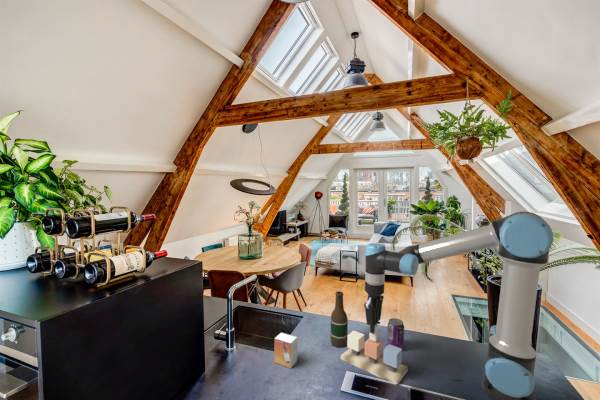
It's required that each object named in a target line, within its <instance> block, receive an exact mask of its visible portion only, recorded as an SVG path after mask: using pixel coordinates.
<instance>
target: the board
mask: <svg viewBox="0 0 600 400" xmlns="http://www.w3.org/2000/svg"><path fill="white" fill-rule="evenodd" d="M364 352H365V347H363V348H362V349H361V350H360V351H359V352H357V351H355V350H353V349H350V348H348V349H347V350H346V351H345V352H343V353H342V354H341V355H340V360H341V361H344V362H346V363H348V364H350V365H352V366H355V367H356V368H358V369H361V370H363V371H365V372H367V373H369V374H371V375H373V376H376V377H377V378H379V379H382V378H383V379H382V380H384V379H386V380H388V381H390V382H392V383H395V384H399V383H400V382H401V381H402V379H403V378H404V377H405V375H406V374H407V372H408V369H409V368H408V367H409V366H407V365H404V364H402V363H400V365H399V366H398V367H397V368H394V367H392V366H390V365H387V364H385V363H383V356H382V355H381V356H380V357H379V358H378V359H377V360H376V359H373V358H371V357H369V356H367V355H364ZM386 380H385V381H386ZM388 381H387V382H388ZM390 382H389V383H390ZM392 383H391V384H392Z"/></svg>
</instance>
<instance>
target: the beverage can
mask: <svg viewBox="0 0 600 400" xmlns="http://www.w3.org/2000/svg"><path fill="white" fill-rule="evenodd" d="M386 342H387V343H386V346H388V345H389V344H390V345H393V346H396V347H398V348H401V349H402V350H404V348H405V324H404V321H403V320H401V319H399V318H396V317H395V318H394V317H393V318H392V317H391V318H389V320H388V323H387V339H386Z"/></svg>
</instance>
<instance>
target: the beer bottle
mask: <svg viewBox="0 0 600 400" xmlns="http://www.w3.org/2000/svg"><path fill="white" fill-rule="evenodd" d="M334 295H335V303H334V304H335V305H334V309H333V310H332V312H331V315H330V343H331V346H333V347H334V348H339V349H340V348H345V347H347V335H348V334H349V333H348V330H349V329H348V328H349V327H348V325H349V324H348V321H349V320H348V315H347V313H346V310H345V307H344V292H343V291H340V290H339V291H336V292H335V294H334Z"/></svg>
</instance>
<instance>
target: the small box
mask: <svg viewBox="0 0 600 400" xmlns="http://www.w3.org/2000/svg"><path fill="white" fill-rule="evenodd" d="M273 345H274V347H273V348H274V349H273V351H274V352H273V353H274V356H273V362H274V363H275V364H278V365H281V366H282V367H283V366H284V367H286V368H289V369H292V367H293V366H294V365H295V364H296V363H297V362H298V336H295V335H290V334H288V333H284V332H280V333H279V334H278V335H276V336H275V337H274V344H273Z"/></svg>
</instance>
